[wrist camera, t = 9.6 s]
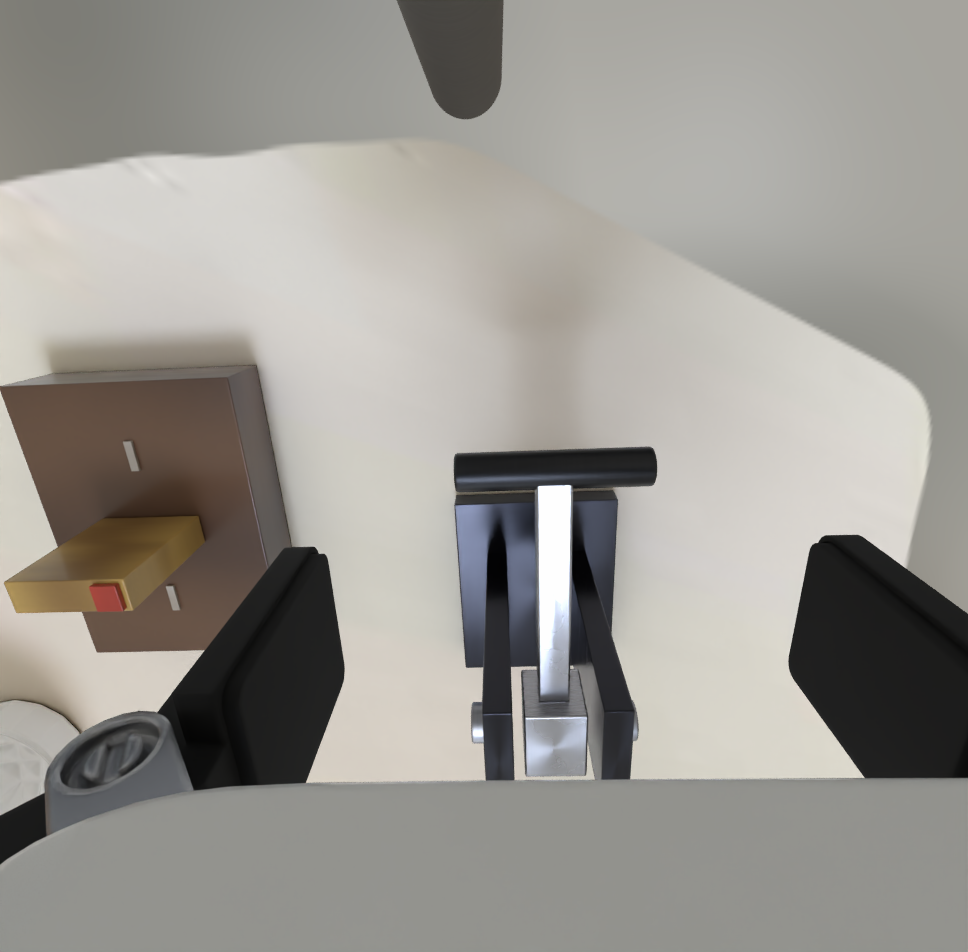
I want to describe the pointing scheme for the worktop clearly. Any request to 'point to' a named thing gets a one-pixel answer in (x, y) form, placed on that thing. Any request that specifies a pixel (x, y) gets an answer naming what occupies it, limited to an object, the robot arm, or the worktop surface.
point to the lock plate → (159, 484)
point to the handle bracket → (512, 621)
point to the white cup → (28, 749)
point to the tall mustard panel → (107, 566)
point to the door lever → (554, 583)
